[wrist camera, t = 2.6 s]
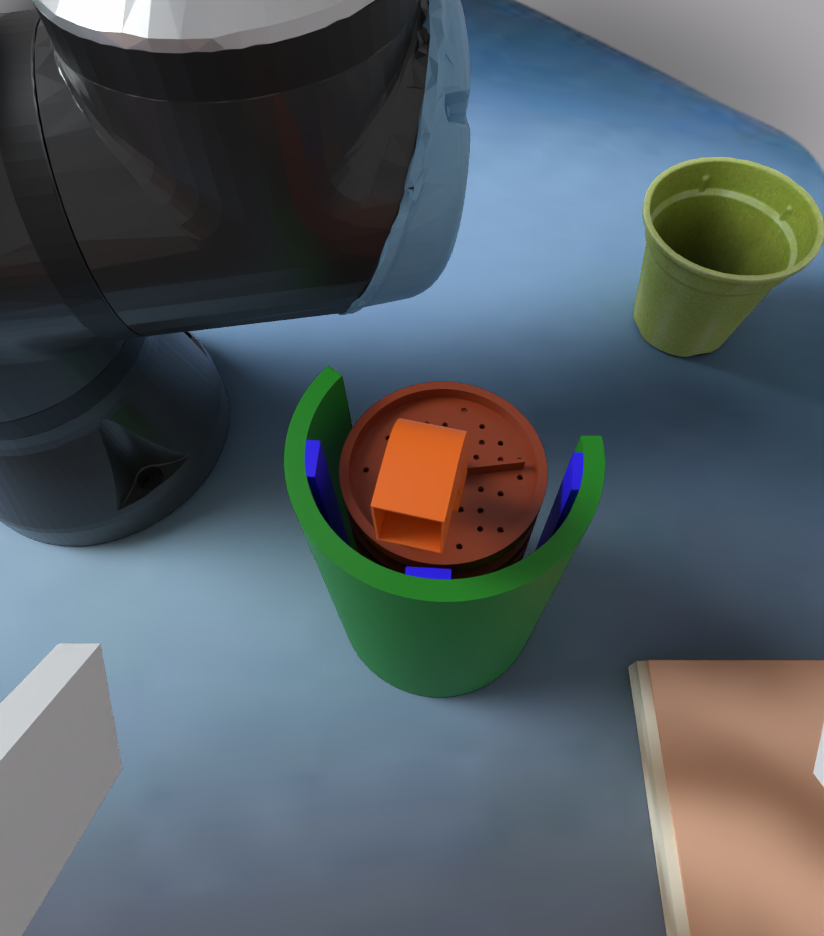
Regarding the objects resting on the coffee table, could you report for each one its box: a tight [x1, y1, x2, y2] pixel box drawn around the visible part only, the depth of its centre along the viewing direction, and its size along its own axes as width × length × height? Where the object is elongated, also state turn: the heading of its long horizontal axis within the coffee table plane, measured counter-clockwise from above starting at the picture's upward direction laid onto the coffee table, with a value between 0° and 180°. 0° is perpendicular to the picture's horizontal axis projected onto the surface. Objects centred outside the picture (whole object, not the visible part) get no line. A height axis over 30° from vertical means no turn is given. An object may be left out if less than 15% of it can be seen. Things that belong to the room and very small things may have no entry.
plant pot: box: [633, 157, 824, 357], centre depth 39 cm, size 9×9×9 cm
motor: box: [284, 366, 605, 697], centre depth 25 cm, size 10×9×20 cm
